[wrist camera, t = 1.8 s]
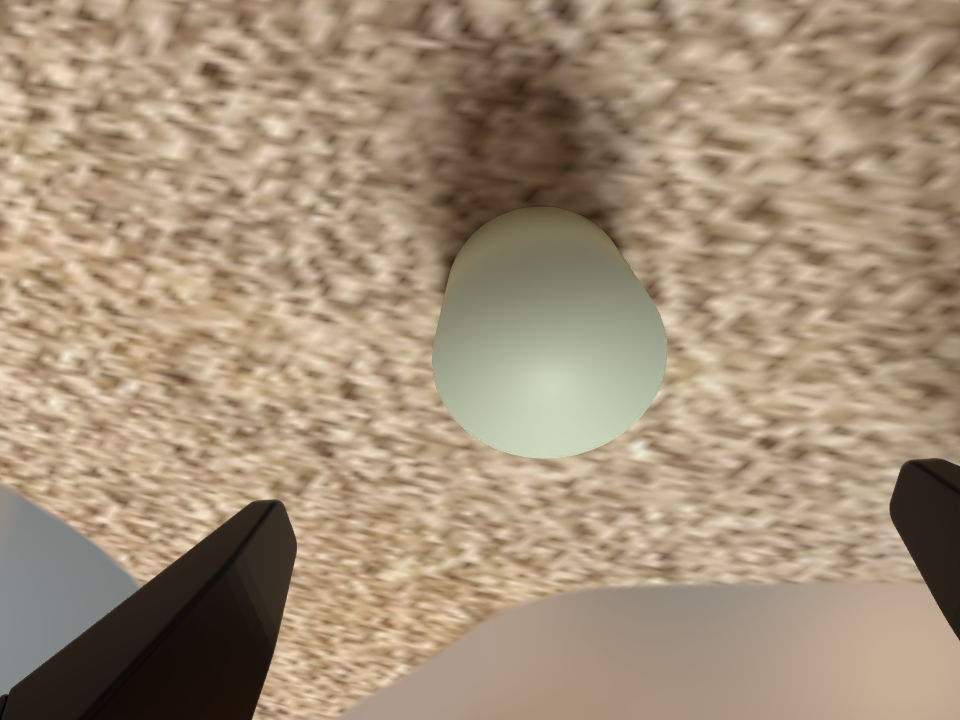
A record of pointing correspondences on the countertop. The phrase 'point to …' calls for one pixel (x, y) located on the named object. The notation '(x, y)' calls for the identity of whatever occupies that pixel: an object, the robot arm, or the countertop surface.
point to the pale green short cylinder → (546, 336)
